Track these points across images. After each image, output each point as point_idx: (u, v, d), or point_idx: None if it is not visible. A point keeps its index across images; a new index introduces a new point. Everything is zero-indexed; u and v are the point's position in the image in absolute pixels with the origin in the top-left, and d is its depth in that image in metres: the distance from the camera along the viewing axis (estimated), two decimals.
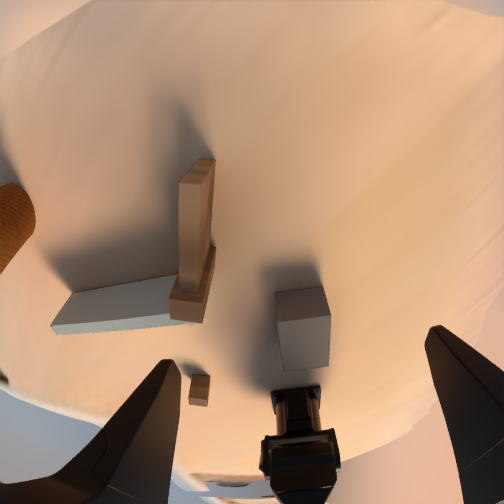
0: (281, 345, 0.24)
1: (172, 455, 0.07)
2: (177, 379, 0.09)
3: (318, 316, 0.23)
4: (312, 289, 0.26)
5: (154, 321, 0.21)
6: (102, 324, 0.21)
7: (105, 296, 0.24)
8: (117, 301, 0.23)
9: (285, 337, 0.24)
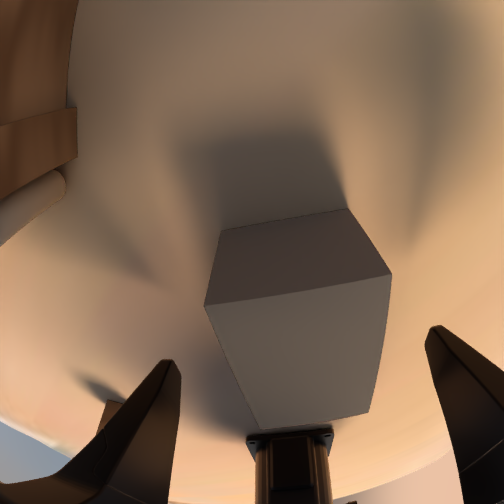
0: (238, 377, 0.08)
1: (172, 455, 0.07)
2: (177, 379, 0.09)
3: (349, 281, 0.06)
4: (321, 216, 0.09)
5: None
6: None
7: None
8: None
9: (245, 356, 0.08)
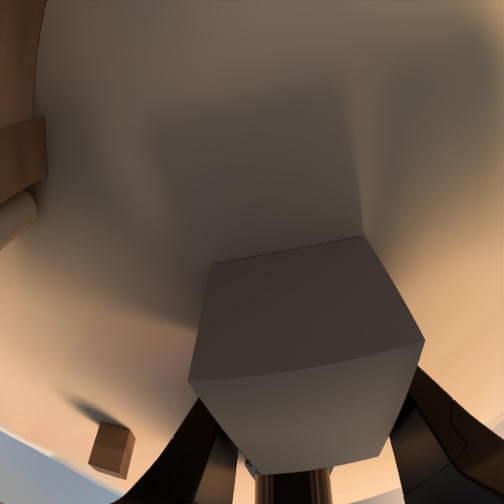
0: (235, 439, 0.06)
1: (236, 458, 0.07)
2: None
3: (372, 352, 0.05)
4: (334, 249, 0.08)
5: None
6: None
7: None
8: None
9: (242, 424, 0.06)
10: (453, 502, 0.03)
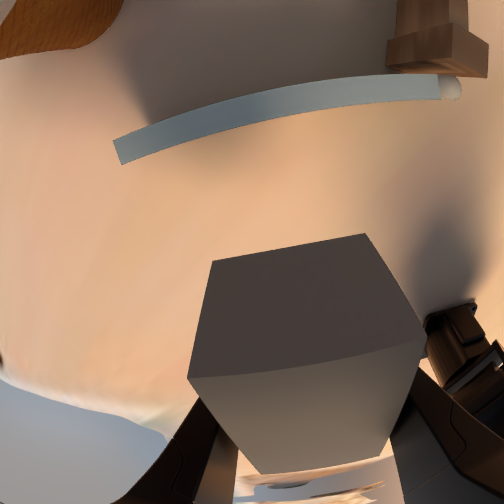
0: (235, 438, 0.06)
1: (236, 458, 0.07)
2: None
3: (375, 348, 0.04)
4: (334, 246, 0.08)
5: (395, 86, 0.09)
6: (275, 97, 0.10)
7: None
8: None
9: (242, 423, 0.06)
10: (452, 502, 0.03)
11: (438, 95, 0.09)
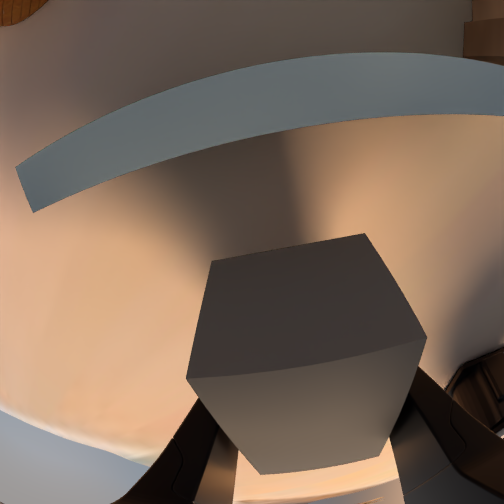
0: (234, 438, 0.06)
1: (236, 458, 0.07)
2: None
3: (374, 349, 0.04)
4: (334, 246, 0.07)
5: None
6: (350, 72, 0.04)
7: None
8: None
9: (241, 423, 0.06)
10: (452, 502, 0.03)
11: None
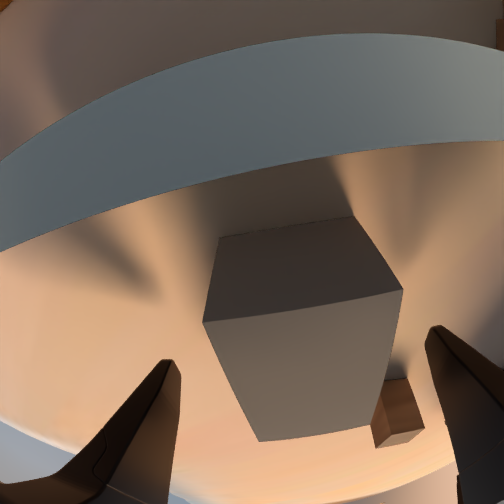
0: (238, 393, 0.08)
1: (172, 455, 0.07)
2: (177, 379, 0.09)
3: (358, 296, 0.06)
4: (326, 223, 0.09)
5: None
6: (416, 66, 0.02)
7: None
8: None
9: (246, 373, 0.07)
10: None
11: None
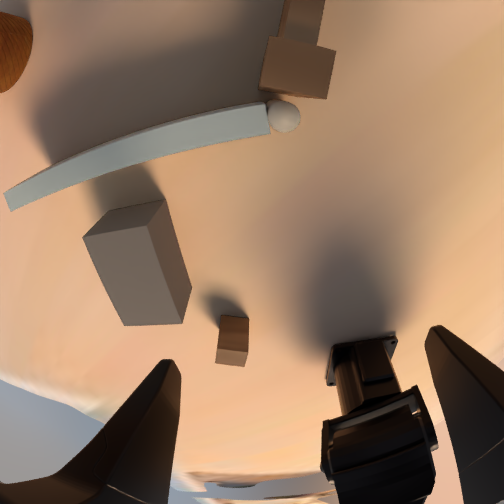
0: (101, 278, 0.16)
1: (172, 455, 0.07)
2: (177, 379, 0.09)
3: (130, 228, 0.14)
4: (150, 203, 0.18)
5: (204, 130, 0.10)
6: (93, 158, 0.11)
7: (105, 143, 0.14)
8: (128, 135, 0.13)
9: (101, 265, 0.16)
10: None
11: (266, 129, 0.10)
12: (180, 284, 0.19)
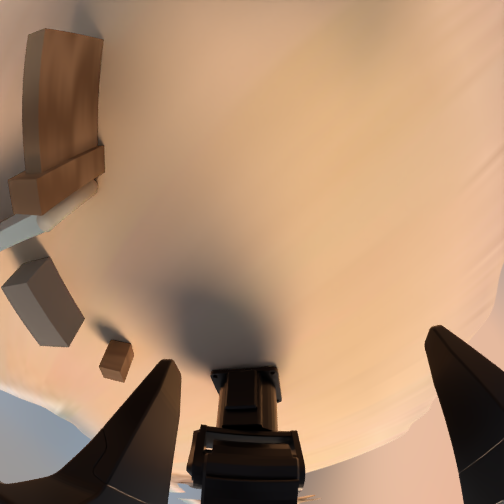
0: (17, 313, 0.19)
1: (172, 455, 0.07)
2: (177, 379, 0.09)
3: (20, 283, 0.17)
4: (41, 259, 0.20)
5: (17, 232, 0.13)
6: None
7: (2, 224, 0.16)
8: (5, 223, 0.15)
9: (14, 305, 0.18)
10: None
11: (41, 229, 0.13)
12: (67, 318, 0.21)
